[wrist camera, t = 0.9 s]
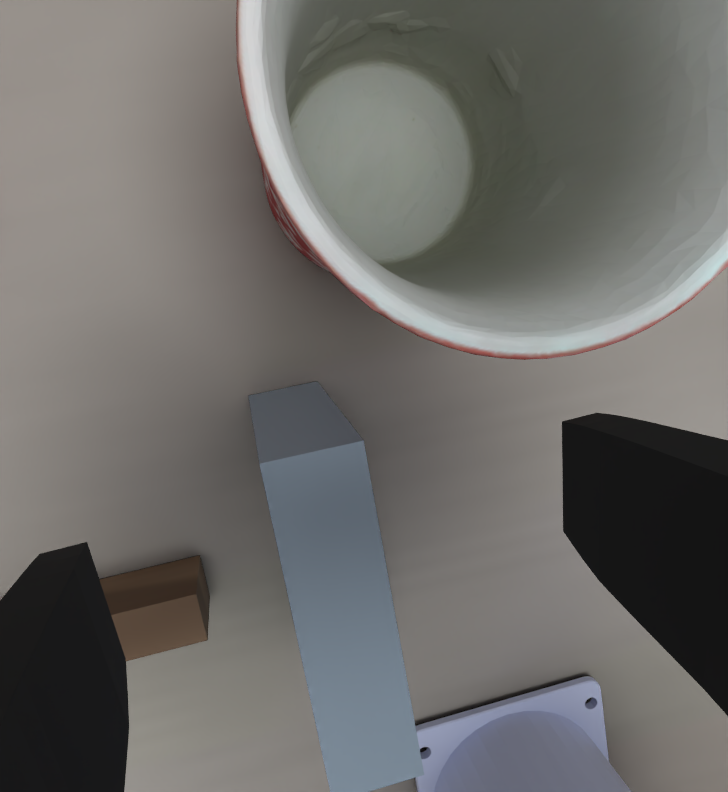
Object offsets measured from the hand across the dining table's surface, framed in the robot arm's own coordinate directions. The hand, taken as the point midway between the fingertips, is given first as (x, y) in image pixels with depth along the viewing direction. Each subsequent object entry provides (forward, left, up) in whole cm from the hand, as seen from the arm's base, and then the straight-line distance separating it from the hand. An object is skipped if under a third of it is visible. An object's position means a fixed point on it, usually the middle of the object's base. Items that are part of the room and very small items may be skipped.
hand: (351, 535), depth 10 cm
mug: (+6, -6, -14) cm, 17 cm away
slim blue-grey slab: (-5, 0, -14) cm, 15 cm away
